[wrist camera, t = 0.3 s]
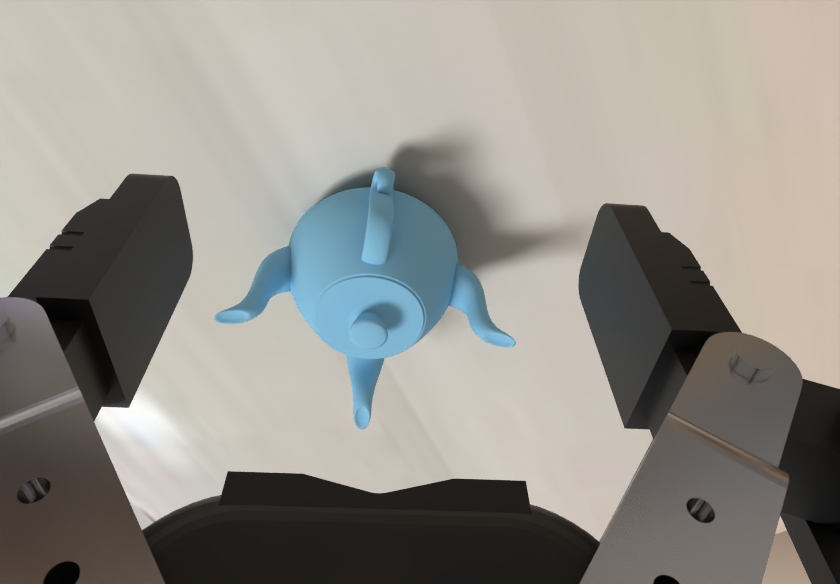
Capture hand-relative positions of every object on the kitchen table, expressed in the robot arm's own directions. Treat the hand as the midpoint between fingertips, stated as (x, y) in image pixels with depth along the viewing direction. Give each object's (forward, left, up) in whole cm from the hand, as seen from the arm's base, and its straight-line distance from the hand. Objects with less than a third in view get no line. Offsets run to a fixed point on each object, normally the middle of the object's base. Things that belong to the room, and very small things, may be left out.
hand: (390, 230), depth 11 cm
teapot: (+22, +2, -29) cm, 36 cm away
